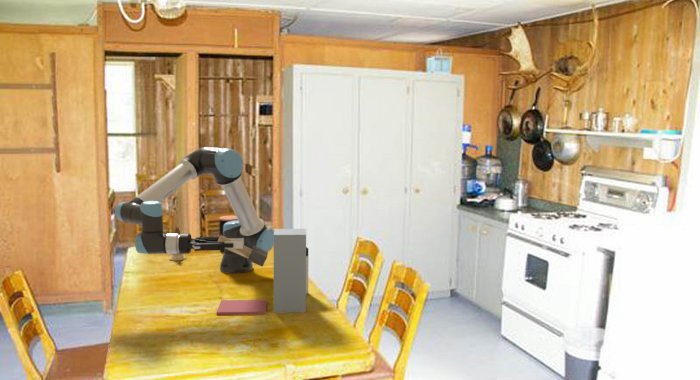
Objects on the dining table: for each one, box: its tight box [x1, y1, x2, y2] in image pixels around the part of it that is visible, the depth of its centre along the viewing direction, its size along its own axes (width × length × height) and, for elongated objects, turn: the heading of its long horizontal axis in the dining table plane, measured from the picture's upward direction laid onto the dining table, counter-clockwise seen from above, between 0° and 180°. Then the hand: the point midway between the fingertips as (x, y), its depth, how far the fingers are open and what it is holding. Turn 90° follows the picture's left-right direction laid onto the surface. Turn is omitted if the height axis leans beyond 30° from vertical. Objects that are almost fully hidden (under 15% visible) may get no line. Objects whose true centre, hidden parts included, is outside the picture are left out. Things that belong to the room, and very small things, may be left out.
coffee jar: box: [218, 215, 238, 253], centre depth 302 cm, size 11×11×18 cm
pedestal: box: [273, 228, 307, 314], centre depth 219 cm, size 10×12×30 cm
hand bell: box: [168, 226, 187, 262], centre depth 285 cm, size 8×8×16 cm
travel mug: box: [306, 246, 309, 296], centre depth 236 cm, size 6×7×20 cm
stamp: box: [217, 235, 269, 267], centre depth 216 cm, size 8×19×4 cm, turn 95°
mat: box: [215, 299, 268, 316], centre depth 220 cm, size 13×18×1 cm
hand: (243, 243), depth 216 cm, fingers closed on stamp, 3 cm apart
